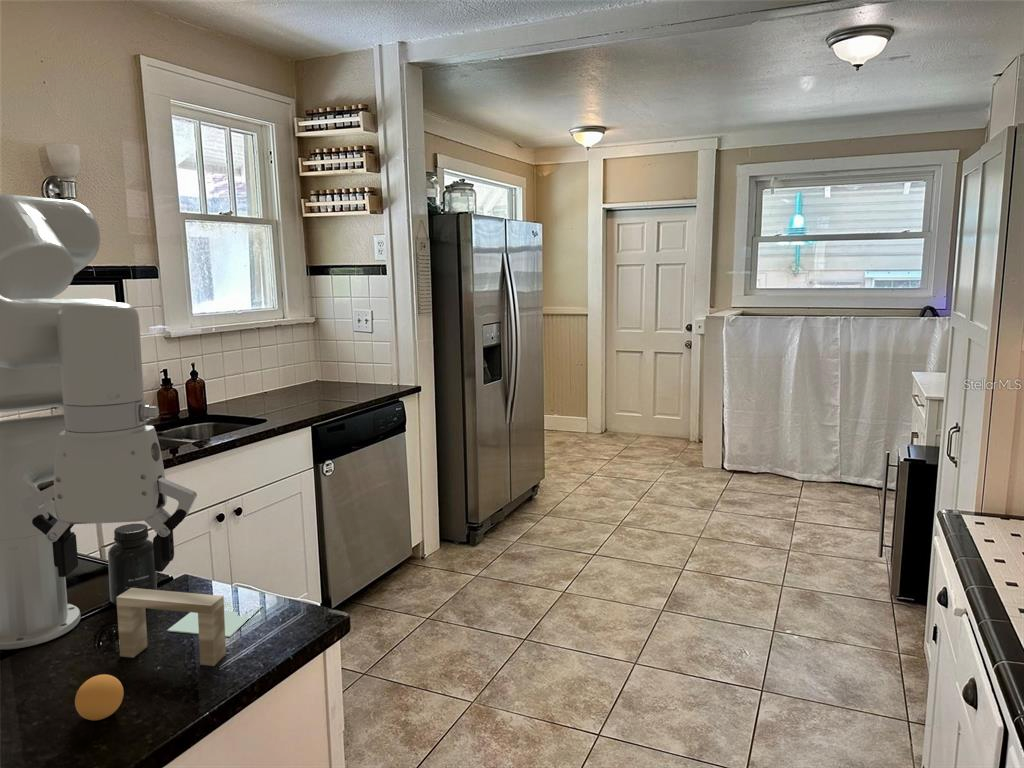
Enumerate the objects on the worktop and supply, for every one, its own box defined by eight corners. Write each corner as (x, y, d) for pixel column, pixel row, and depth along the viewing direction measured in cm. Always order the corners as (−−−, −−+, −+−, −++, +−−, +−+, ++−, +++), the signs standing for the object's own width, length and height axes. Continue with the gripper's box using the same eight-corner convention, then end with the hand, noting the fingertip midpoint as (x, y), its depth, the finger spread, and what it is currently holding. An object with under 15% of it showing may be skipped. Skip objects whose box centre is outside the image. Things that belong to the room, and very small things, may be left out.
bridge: (213, 666, 95) (211, 605, 94) (120, 656, 97) (116, 597, 95) (225, 654, 98) (223, 595, 96) (134, 645, 100) (131, 587, 98)
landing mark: (167, 631, 104) (167, 630, 104) (205, 601, 114) (205, 600, 114) (230, 637, 102) (229, 636, 102) (263, 606, 112) (263, 605, 112)
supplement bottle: (137, 609, 110) (133, 537, 109) (100, 605, 112) (95, 533, 110) (167, 591, 117) (163, 522, 115) (131, 587, 118) (127, 519, 117)
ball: (66, 727, 81) (63, 687, 81) (97, 702, 86) (94, 664, 86) (104, 731, 81) (102, 691, 80) (134, 706, 86) (131, 668, 85)
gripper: (200, 410, 80) (207, 553, 82) (34, 412, 77) (46, 561, 79) (181, 422, 73) (189, 579, 75) (-4, 426, 70) (11, 588, 72)
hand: (116, 569), depth 77 cm, fingers open, 9 cm apart
